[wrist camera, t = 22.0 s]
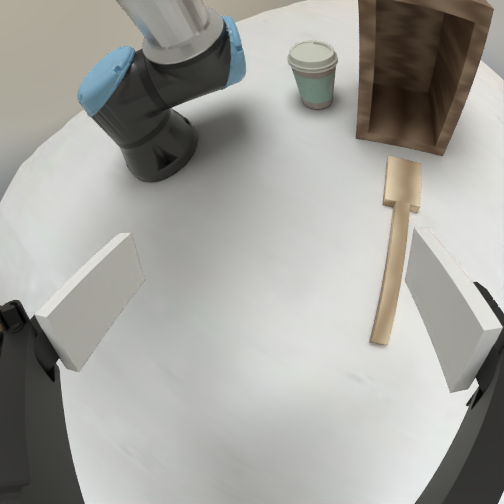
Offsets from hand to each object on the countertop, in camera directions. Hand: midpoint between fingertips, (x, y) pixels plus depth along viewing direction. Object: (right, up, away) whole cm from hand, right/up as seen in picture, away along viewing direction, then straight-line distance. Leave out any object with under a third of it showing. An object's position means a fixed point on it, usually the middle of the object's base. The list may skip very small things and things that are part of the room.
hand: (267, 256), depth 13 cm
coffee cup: (+12, +29, +38) cm, 49 cm away
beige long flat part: (+20, +1, +26) cm, 33 cm away
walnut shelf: (+27, +26, +32) cm, 49 cm away
